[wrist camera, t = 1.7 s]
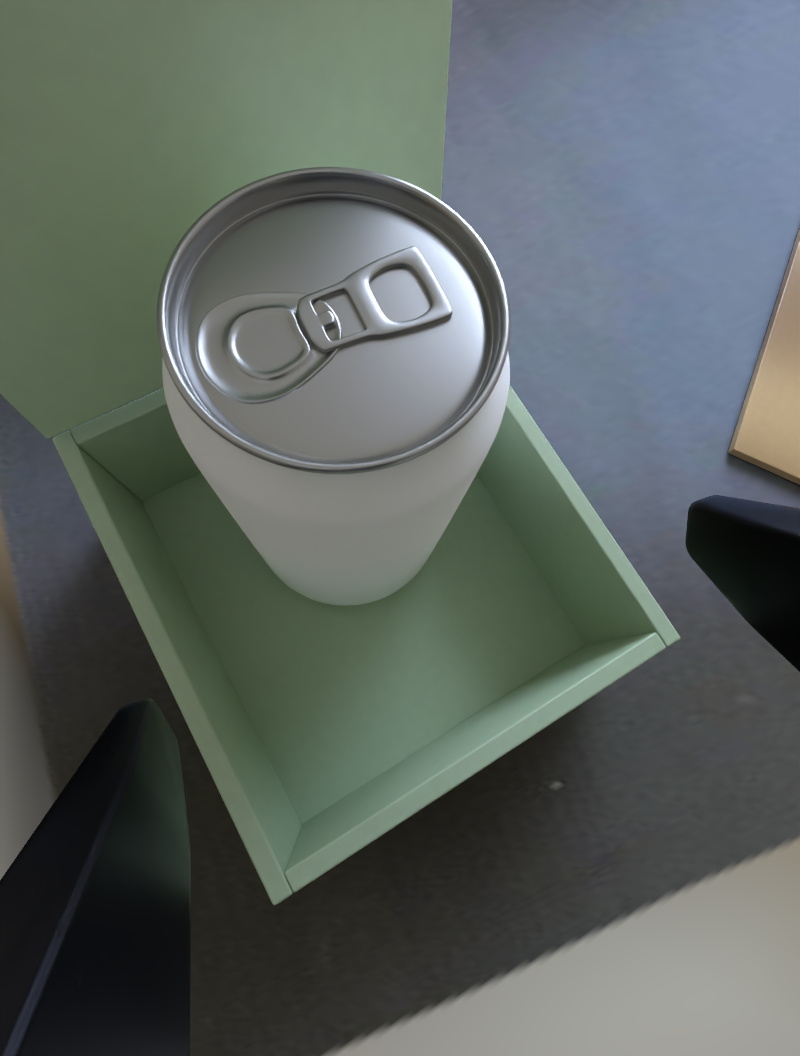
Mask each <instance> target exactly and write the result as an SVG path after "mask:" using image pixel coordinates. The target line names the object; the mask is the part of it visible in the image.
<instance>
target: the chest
mask: <svg viewBox="0 0 800 1056" xmlns="http://www.w3.org/2000/svg"><path fill="white" fill-rule="evenodd" d="M52 440H53V442H54V444H55V446H56V449H57V451H58V453H59V455H60V457H61V459H62V461H63V463H64V465H65V468H66V470H67V472H68V474H69V476H70V478H71V480H72V482H73V484H74V487H75V489H76V491H77V493H78V495H79V497H80V499H81V501H82V503H83V506H84V508H85V510H86V512H87V514H88V516H89V518H90V520H91V522H92V525H93V527H94V529H95V531H96V533H97V535H98V537H99V539H100V541H101V543H102V546H103V548H104V550H105V552H106V554H107V556H108V558H109V560H110V562H111V565H112V567H113V569H114V571H115V573H116V575H117V577H118V579H119V581H120V584H121V586H122V588H123V590H124V592H125V594H126V596H127V598H128V600H129V603H130V605H131V607H132V609H133V611H134V613H135V615H136V617H137V619H138V622H139V624H140V626H141V628H142V630H143V632H144V634H145V636H146V638H147V641H148V643H149V645H150V647H151V649H152V651H153V653H154V655H155V657H156V660H157V662H158V664H159V666H160V668H161V670H162V672H163V674H164V676H165V678H166V681H167V683H168V685H169V687H170V689H171V691H172V693H173V695H174V697H175V700H176V702H177V704H178V706H179V708H180V710H181V712H182V714H183V716H184V719H185V721H186V723H187V725H188V727H189V729H190V731H191V733H192V735H193V738H194V740H195V742H196V744H197V746H198V748H199V750H200V752H201V754H202V757H203V759H204V761H205V763H206V765H207V767H208V769H209V771H210V773H211V776H212V778H213V780H214V782H215V784H216V786H217V788H218V790H219V792H220V795H221V797H222V799H223V801H224V803H225V805H226V807H227V809H228V811H229V813H230V816H231V818H232V820H233V822H234V824H235V826H236V828H237V830H238V832H239V835H240V837H241V839H242V841H243V843H244V845H245V847H246V849H247V851H248V854H249V856H250V858H251V860H252V862H253V864H254V866H255V868H256V870H257V873H258V875H259V877H260V879H261V881H262V883H263V885H264V887H265V889H266V892H267V894H268V896H269V898H270V900H271V902H272V904H273V905H277V904H278V903H280V902H281V901H283V900H284V899H286V898H287V897H289V896H290V895H291V894H292V893H293V892H297V891H298V890H300V889H301V888H303V887H304V886H306V885H307V884H309V883H310V882H312V881H313V880H315V879H316V878H318V877H319V876H321V875H322V874H324V873H325V872H327V871H328V870H330V869H331V868H333V867H334V866H336V865H338V864H339V863H341V862H342V861H344V860H345V859H347V858H348V857H350V856H351V855H353V854H354V853H356V852H357V851H359V850H360V849H362V848H363V847H365V846H366V845H368V844H369V843H371V842H372V841H374V840H376V839H377V838H379V837H380V836H382V835H383V834H385V833H386V832H388V831H389V830H391V829H392V828H394V827H395V826H397V825H398V824H400V823H401V822H403V821H404V820H406V819H407V818H409V817H410V816H412V815H413V814H415V813H417V812H418V811H420V810H421V809H423V808H424V807H426V806H427V805H429V804H430V803H432V802H433V801H435V800H436V799H438V798H439V797H441V796H442V795H444V794H445V793H447V792H448V791H450V790H451V789H453V788H454V787H456V786H458V785H459V784H461V783H462V782H464V781H465V780H467V779H468V778H470V777H471V776H473V775H474V774H476V773H477V772H479V771H480V770H482V769H483V768H485V767H486V766H488V765H489V764H491V763H492V762H494V761H495V760H497V759H499V758H500V757H502V756H503V755H505V754H506V753H508V752H509V751H511V750H512V749H514V748H515V747H517V746H518V745H520V744H521V743H523V742H524V741H526V740H527V739H529V738H530V737H532V736H533V735H535V734H537V733H538V732H540V731H541V730H543V729H544V728H546V727H547V726H549V725H550V724H552V723H553V722H555V721H556V720H558V719H559V718H561V717H562V716H564V715H565V714H567V713H568V712H570V711H571V710H573V709H574V708H576V707H578V706H579V705H581V704H582V703H584V702H585V701H587V700H588V699H590V698H591V697H593V696H594V695H596V694H597V693H599V692H600V691H602V690H603V689H605V688H606V687H608V686H609V685H611V684H612V683H614V682H615V681H617V680H619V679H620V678H622V677H623V676H625V675H626V674H628V673H629V672H631V671H632V670H634V669H635V668H637V667H638V666H640V665H641V664H643V663H644V662H646V661H647V660H649V659H650V658H652V657H653V656H655V655H656V654H658V653H660V652H661V651H663V650H664V649H665V648H666V647H669V646H670V645H672V644H673V643H675V642H676V641H678V640H679V639H680V636H679V635H678V633H677V632H676V630H675V629H674V627H673V626H672V624H671V623H670V621H669V620H668V618H667V617H666V615H665V614H664V612H663V611H662V609H661V608H660V606H659V605H658V603H657V602H656V600H655V599H654V598H653V596H652V595H651V593H650V592H649V590H648V589H647V587H646V586H645V584H644V583H643V581H642V580H641V578H640V577H639V575H638V574H637V572H636V571H635V569H634V568H633V566H632V565H631V563H630V562H629V561H628V559H627V558H626V556H625V555H624V553H623V552H622V550H621V549H620V547H619V546H618V544H617V543H616V541H615V540H614V538H613V537H612V535H611V534H610V532H609V531H608V529H607V528H606V526H605V525H604V524H603V522H602V521H601V519H600V518H599V516H598V515H597V513H596V512H595V510H594V509H593V507H592V506H591V504H590V503H589V501H588V500H587V498H586V497H585V495H584V494H583V492H582V491H581V489H580V488H579V487H578V485H577V484H576V482H575V481H574V479H573V478H572V476H571V475H570V473H569V472H568V470H567V469H566V467H565V466H564V464H563V463H562V461H561V460H560V458H559V457H558V455H557V454H556V452H555V451H554V450H553V448H552V447H551V445H550V444H549V442H548V441H547V439H546V438H545V436H544V435H543V433H542V432H541V430H540V429H539V427H538V426H537V424H536V423H535V421H534V420H533V418H532V417H531V415H530V414H529V413H528V411H527V410H526V408H525V407H524V405H523V404H522V402H521V401H520V399H519V398H518V396H517V395H516V393H515V392H514V390H513V389H512V387H511V386H510V384H509V392H508V398H507V403H506V407H505V411H504V414H503V418H502V421H501V424H500V427H499V430H498V432H497V435H496V437H495V439H494V441H493V443H492V445H491V447H490V449H489V452H488V454H487V456H486V458H485V459H484V461H483V463H482V465H481V467H480V469H479V470H478V472H477V474H476V476H475V478H474V479H473V481H472V483H471V485H470V487H469V488H468V490H467V492H466V494H465V496H464V497H463V499H462V501H461V503H460V504H459V506H458V508H457V510H456V511H455V513H454V515H453V517H452V519H451V520H450V522H449V524H448V526H447V527H446V529H445V531H444V532H443V534H442V536H441V538H440V539H439V541H438V543H437V544H436V546H435V548H434V550H433V551H432V553H431V555H430V556H429V558H428V559H427V561H426V562H425V564H424V565H423V567H422V568H421V569H420V571H419V572H418V573H417V574H416V575H415V576H414V577H413V578H412V579H411V580H410V581H409V582H408V583H407V584H406V585H404V586H403V587H402V588H400V589H399V590H397V591H396V592H394V593H393V594H391V595H389V596H387V597H385V598H382V599H380V600H377V601H374V602H371V603H366V604H361V605H353V606H339V605H330V604H325V603H321V602H318V601H315V600H312V599H309V598H307V597H305V596H303V595H301V594H299V593H297V592H296V591H294V590H293V589H291V588H290V587H288V586H287V585H286V584H285V583H284V582H283V581H282V580H281V579H280V578H279V577H278V576H277V575H276V574H275V573H274V572H273V570H272V569H271V568H270V567H269V565H268V564H267V563H266V562H265V560H264V559H263V558H262V556H261V555H260V554H259V552H258V551H257V550H256V548H255V547H254V545H253V544H252V543H251V541H250V540H249V539H248V537H247V536H246V535H245V533H244V532H243V530H242V529H241V528H240V526H239V525H238V524H237V522H236V521H235V519H234V518H233V517H232V515H231V514H230V512H229V511H228V510H227V508H226V507H225V506H224V504H223V503H222V501H221V500H220V499H219V497H218V496H217V494H216V493H215V492H214V490H213V489H212V487H211V486H210V484H209V483H208V482H207V480H206V479H205V477H204V476H203V474H202V473H201V471H200V470H199V469H198V467H197V466H196V464H195V463H194V461H193V459H192V458H191V456H190V454H189V453H188V451H187V450H186V448H185V446H184V445H183V443H182V441H181V439H180V437H179V435H178V433H177V430H176V428H175V426H174V423H173V421H172V418H171V415H170V412H169V409H168V406H167V402H166V398H165V393H164V388H163V389H160V390H158V391H156V392H154V393H152V394H149V395H147V396H145V397H143V398H140V399H138V400H136V401H134V402H131V403H129V404H127V405H125V406H122V407H120V408H118V409H116V410H113V411H111V412H109V413H107V414H104V415H102V416H100V417H98V418H96V419H93V420H91V421H89V422H87V423H84V424H82V425H80V426H78V427H75V428H73V429H71V432H70V431H66V432H64V433H62V434H60V435H57V436H55V437H53V438H52Z"/></svg>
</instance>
